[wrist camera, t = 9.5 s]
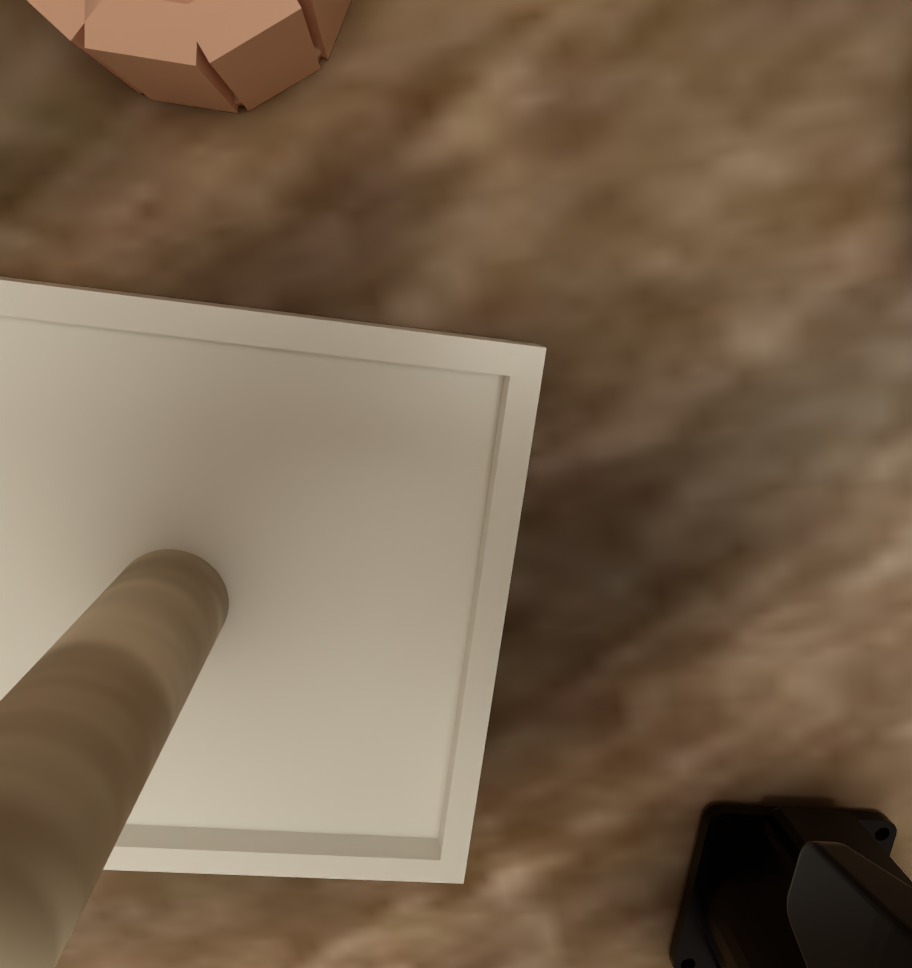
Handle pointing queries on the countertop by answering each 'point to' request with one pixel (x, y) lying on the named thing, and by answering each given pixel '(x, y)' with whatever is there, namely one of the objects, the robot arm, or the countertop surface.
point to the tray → (277, 560)
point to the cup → (202, 44)
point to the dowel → (94, 741)
